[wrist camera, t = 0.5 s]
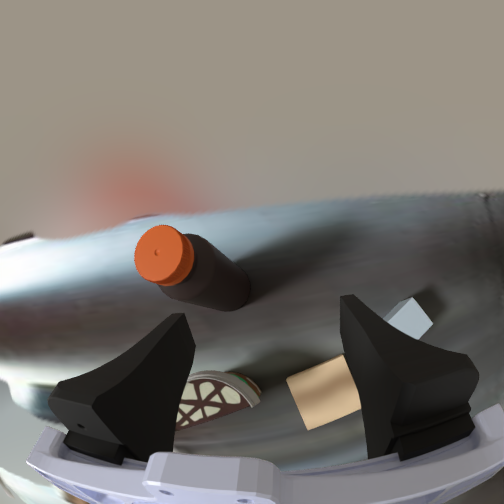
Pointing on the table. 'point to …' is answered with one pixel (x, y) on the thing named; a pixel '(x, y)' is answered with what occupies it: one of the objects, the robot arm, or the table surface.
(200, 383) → the food container
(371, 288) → the table surface
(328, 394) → the oak slab
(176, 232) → the bottle
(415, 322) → the slate block
